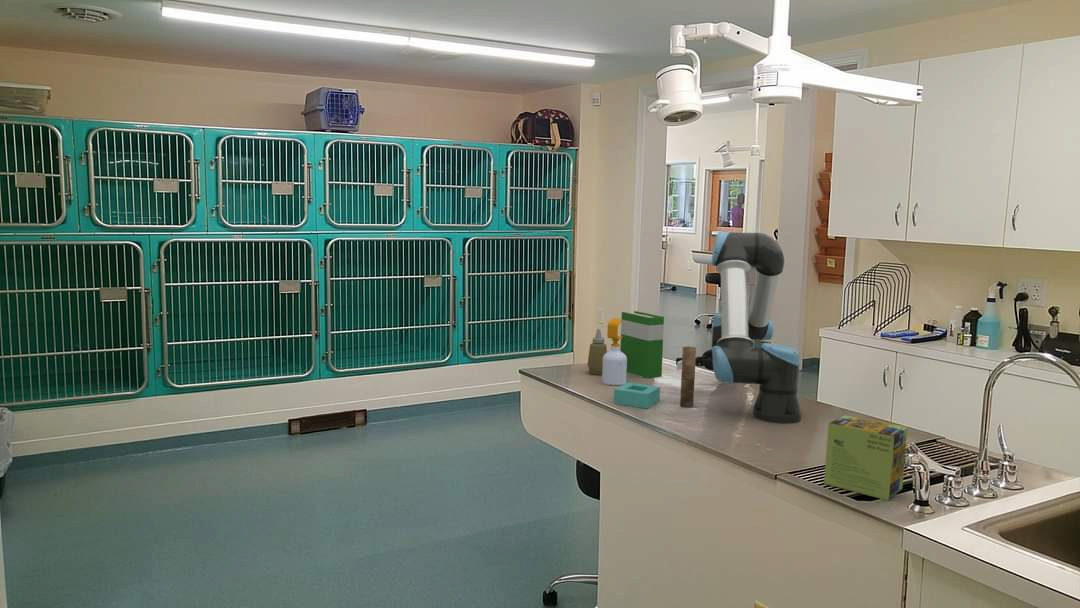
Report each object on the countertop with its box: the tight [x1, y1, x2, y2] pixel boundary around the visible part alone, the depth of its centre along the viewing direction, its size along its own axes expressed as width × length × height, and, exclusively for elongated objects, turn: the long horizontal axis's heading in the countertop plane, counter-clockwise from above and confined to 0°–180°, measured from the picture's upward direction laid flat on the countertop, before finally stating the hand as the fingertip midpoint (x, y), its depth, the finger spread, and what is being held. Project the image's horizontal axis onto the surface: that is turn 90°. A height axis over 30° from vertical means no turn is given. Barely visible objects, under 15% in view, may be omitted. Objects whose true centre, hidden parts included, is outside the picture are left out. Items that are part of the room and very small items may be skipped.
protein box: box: [823, 415, 908, 501], centre depth 180 cm, size 10×15×16 cm
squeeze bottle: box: [587, 328, 608, 376], centre depth 297 cm, size 8×8×18 cm
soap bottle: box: [601, 317, 628, 386], centre depth 281 cm, size 9×9×25 cm
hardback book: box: [620, 310, 665, 379], centre depth 300 cm, size 18×7×24 cm, turn 31°
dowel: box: [679, 346, 697, 409], centre depth 251 cm, size 4×4×20 cm
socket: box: [613, 382, 661, 409], centre depth 255 cm, size 12×12×5 cm
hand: (696, 368), depth 259 cm, fingers open, 13 cm apart
